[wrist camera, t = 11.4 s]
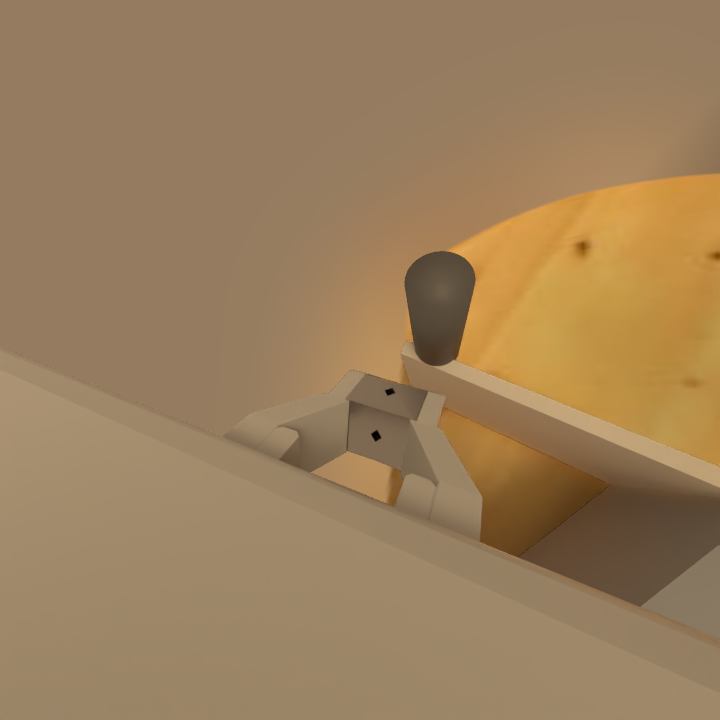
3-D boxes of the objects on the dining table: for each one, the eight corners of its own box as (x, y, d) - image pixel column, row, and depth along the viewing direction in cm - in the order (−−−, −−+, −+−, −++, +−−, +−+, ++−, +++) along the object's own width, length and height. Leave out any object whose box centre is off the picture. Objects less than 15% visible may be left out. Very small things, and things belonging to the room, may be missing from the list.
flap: (620, 452, 27) (1083, 429, 8) (609, 484, 27) (1078, 542, 7) (423, 368, 34) (412, 241, 14) (412, 392, 33) (383, 294, 14)
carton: (613, 482, 28) (781, 501, 14) (783, 652, 22) (1299, 933, 9) (435, 621, 27) (438, 772, 14) (563, 827, 22) (762, 1384, 9)
